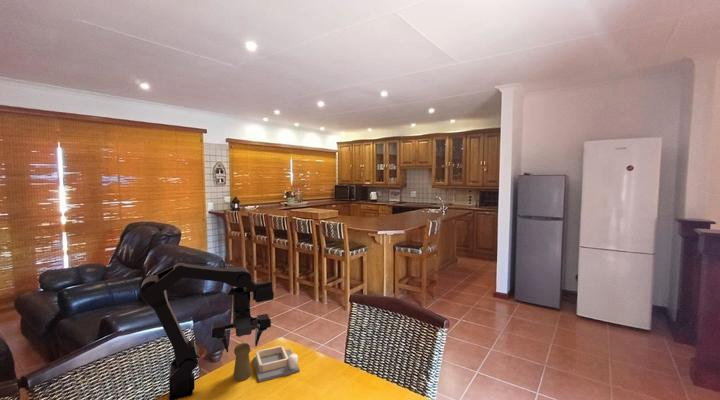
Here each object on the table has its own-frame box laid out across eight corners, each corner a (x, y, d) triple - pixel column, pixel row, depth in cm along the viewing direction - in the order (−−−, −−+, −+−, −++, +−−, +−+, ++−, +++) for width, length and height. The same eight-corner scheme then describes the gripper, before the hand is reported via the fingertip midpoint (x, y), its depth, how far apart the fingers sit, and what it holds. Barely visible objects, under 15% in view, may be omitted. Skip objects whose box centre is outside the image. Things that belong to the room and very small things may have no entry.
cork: (248, 381, 108) (247, 350, 107) (230, 380, 108) (229, 349, 107) (254, 370, 114) (254, 340, 113) (237, 369, 114) (237, 340, 113)
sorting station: (258, 382, 108) (258, 368, 107) (252, 360, 120) (252, 347, 120) (299, 371, 114) (299, 358, 113) (290, 351, 126) (290, 339, 126)
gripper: (211, 319, 98) (212, 368, 99) (274, 309, 106) (274, 354, 107) (211, 305, 108) (211, 350, 109) (268, 297, 116) (268, 339, 117)
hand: (241, 348), depth 110 cm, fingers open, 9 cm apart
